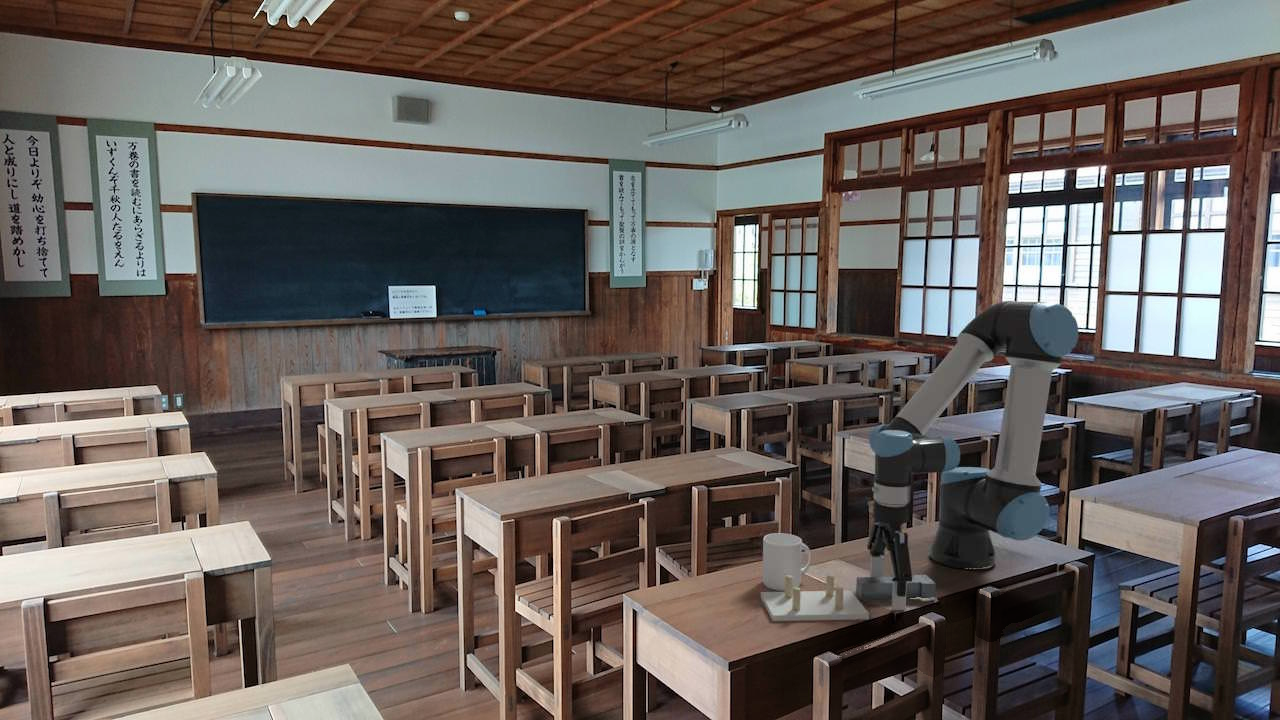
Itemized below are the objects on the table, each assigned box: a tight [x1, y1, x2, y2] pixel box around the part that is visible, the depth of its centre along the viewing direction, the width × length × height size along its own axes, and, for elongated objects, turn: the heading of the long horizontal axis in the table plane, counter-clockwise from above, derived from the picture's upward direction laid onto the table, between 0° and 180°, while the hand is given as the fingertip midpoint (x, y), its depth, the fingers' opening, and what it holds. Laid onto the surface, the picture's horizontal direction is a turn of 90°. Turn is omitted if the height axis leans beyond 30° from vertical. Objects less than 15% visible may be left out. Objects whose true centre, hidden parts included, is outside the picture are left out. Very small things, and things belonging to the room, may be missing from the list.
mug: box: [762, 532, 812, 592], centre depth 182 cm, size 9×12×11 cm
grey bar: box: [855, 574, 937, 602], centre depth 175 cm, size 16×5×4 cm, turn 93°
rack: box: [760, 574, 870, 622], centre depth 169 cm, size 20×12×6 cm, turn 93°
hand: (886, 596), depth 175 cm, fingers open, 13 cm apart
